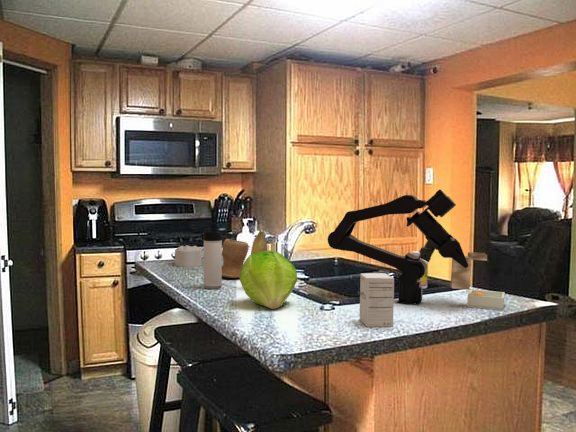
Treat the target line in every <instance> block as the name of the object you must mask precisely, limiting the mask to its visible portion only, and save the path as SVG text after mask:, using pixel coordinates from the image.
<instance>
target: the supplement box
mask: <svg viewBox="0 0 576 432" xmlns="http://www.w3.org/2000/svg"><path fill="white" fill-rule="evenodd" d="M359 282H360V283H359V321H361V322H362V323H363V324H364V325H365V327H367V328H369V327H371V328H375V327H376V328H377V327H380V328H382V327H394V309H395V308H394V307H395V306H394V305H395V300H394V299H395V278H394V277H393V276H391V275H389V274H387V273H385V272H382V273H380V272H375V273H372V272H371V273H368V272H367V273H365V272H364V273H360V281H359Z"/></svg>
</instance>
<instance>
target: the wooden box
mask: <svg viewBox="0 0 576 432" xmlns="http://www.w3.org/2000/svg"><path fill="white" fill-rule="evenodd" d="M464 256H465V258H466V261H467V263H468V267H467V268H465V267H463V266H462V265H461V264H459V263H458V262H456V261H455V260H454V259H452V258H451V272H450V273H451V274H450V288H451V289H454V290H455V289H456V290H466V291H467V290H468V291H470V290H471V271H472V261H486V262H487V261H488V254H486V253H485V252H475V251H474V252H473V251H467V255H464Z"/></svg>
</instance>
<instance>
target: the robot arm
mask: <svg viewBox="0 0 576 432" xmlns="http://www.w3.org/2000/svg"><path fill="white" fill-rule="evenodd" d="M456 206H457V204H456V203H455V201H454V200H453V199H452V198H451V197H450V196H448V195H447V194H446V193H445V192H444V191H443V190H442V189H438V190H437V191H436V192H435V193H434V194H433V195H432V196H431V197H430V198H429V199H427V200H426V199H418V197H417V196H415V195H413V194H405V195H403V196H399V197H398V198H395V199H393V200H390V201H389V202H386V203H383V204H379V205H374V206H373V205H372V206H370V207H365V208H361V209H357V210H349V211H346V212H345V214H344V216H343V218H342V219H341V221H340V222H339V223H338V225H336V227H335V230H333V231H331V232H330V233H329V234H328V236H327V244H328V246H329V247H330V248H332V249H335V250H338V251H343V252H353V253H356V254H359V255H361V256H364V257H366V258H369V259H372V260H374V261H377V262H379V263H382V264H385V265H387V266H390V267H393V268H395V269H396V270H398V271H399V272H400V273H401V274H400V275H399V276H398V281H399V282H398V299H397V300H396V303H399V304H410V305H419V304H421V302H422V301H423V294H424V293H423V291H424V289H423V288H422V287H421V282H418V281H419V280H420V278H421V277H423V276H424V275H425V273H426V272H427V264H426V262H425V261H427V262H428V263H429V262H430V261H431V257H432V255H433V254H434V253H435V250H436V251H438V254H439V255H440V256H441V257H442V258H444V259H447V258H448V259H449V258H450V259H451V260H452V259H454V260H455V261H456V262H458V263H459V264H461V265H462V266H463V267H465V268H467V267H468V263H467V261H466V258H465V256H466V255H465V254H464V250H463V248H462V246H461V243H460V242H459V241H458V240H457V238H455V237H454V236H452V234H450V233H449V232H448V231H447V230H446V229H445V227H444V226H443V225H442V224H441V223H440V222H439V221H438V220H437V219H436V218H438V217H440V218H443V217H444V216H446V215H447V214H448V213H449V212H450V211H451V210H453V208H455V207H456ZM424 208H425V209H424ZM418 209H424V210H422V211H421V212H420V211H418ZM428 210H429V211H428ZM412 213H414V214H413V215H411V216H407V217H406V227H410V226H411V225H412V224H413V225H414V226H415V227H416V228H417V229H418V231H420V232H421V234H423V235H424V238H425V239H426V241H425V244H424V245H423V246H421V248H420V249H419V252H420V255H419V256H415V255H413V254H412V252H407V253H406V254H404V255H400V254H397V253H395V252H392V251H389V250H386V249H384V248H381V247H379V246H376V245H373V244H370V243H368V242H366V241H362V240H360V239H358V238H357V237H355V236H354V235H353V234H352V233H353V230H354V229H355V227H356V225H357V223H358V222H362V221H367V220H370V219H374V218H380V217H385V216H388V215H407V214H408V215H409V214H412ZM435 217H436V218H435ZM420 258H421V259H420ZM422 259H423V260H422ZM424 260H425V261H424Z"/></svg>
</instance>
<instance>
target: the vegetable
mask: <svg viewBox="0 0 576 432" xmlns="http://www.w3.org/2000/svg"><path fill="white" fill-rule="evenodd" d="M251 245H252V246H251V250H250V251H251V252H250V255H251V254H253V253H258V252H263V251H268V241H267V238H266V233H265V232H264V231H259V232H258V233H257V234H256V236H255V237H254V239H253V242H252V244H251Z"/></svg>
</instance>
